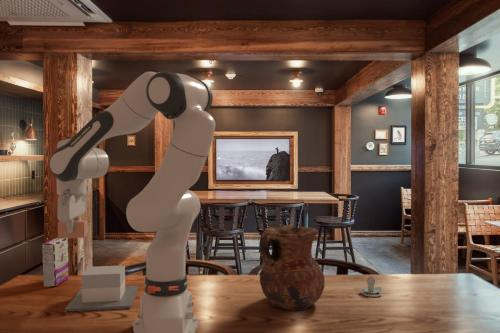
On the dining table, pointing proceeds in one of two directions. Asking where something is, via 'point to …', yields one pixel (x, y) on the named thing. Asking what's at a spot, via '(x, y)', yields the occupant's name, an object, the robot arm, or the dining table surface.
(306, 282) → the jug
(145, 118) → the robot arm
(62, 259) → the candy bar box
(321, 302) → the dining table surface
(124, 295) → the white stack on tray
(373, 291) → the pacifier
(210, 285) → the dining table surface
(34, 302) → the dining table surface
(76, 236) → the terracotta brick
